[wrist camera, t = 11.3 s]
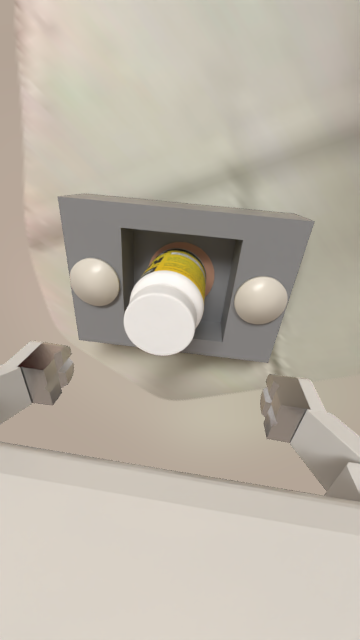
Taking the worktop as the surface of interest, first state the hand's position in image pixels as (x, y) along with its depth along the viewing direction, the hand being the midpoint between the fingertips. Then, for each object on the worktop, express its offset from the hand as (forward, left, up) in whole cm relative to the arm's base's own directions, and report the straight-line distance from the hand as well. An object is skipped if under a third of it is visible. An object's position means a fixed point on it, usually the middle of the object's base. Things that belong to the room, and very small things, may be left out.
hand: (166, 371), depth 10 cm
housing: (+1, 0, -13) cm, 13 cm away
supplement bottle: (+1, 0, -12) cm, 12 cm away
